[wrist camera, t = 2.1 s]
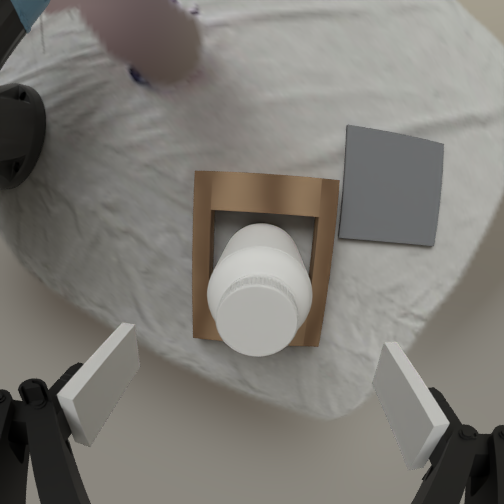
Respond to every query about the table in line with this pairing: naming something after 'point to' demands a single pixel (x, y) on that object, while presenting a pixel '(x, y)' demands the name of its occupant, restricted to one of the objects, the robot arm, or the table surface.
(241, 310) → the pill bottle
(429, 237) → the mat
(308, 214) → the pocket board
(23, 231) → the table surface
